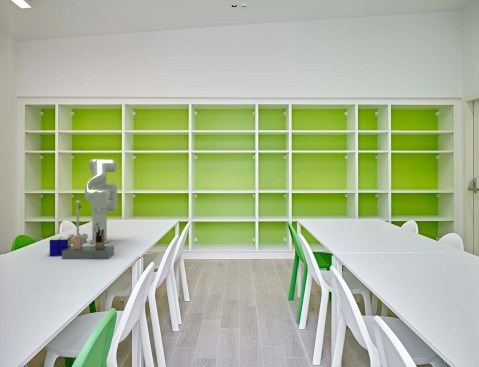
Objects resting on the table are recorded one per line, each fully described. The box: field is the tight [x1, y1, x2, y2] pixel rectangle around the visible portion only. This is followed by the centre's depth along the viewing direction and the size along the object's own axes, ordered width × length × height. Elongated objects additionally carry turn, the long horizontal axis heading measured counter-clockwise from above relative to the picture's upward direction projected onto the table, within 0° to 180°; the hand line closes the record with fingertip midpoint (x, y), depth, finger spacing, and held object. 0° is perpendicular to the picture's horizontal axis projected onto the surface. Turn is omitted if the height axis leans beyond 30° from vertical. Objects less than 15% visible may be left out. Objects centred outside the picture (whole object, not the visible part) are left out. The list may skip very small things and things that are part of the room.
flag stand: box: [67, 200, 89, 245], centre depth 249 cm, size 13×13×30 cm
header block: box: [61, 245, 115, 260], centre depth 210 cm, size 12×26×5 cm, turn 94°
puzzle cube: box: [49, 235, 72, 257], centre depth 215 cm, size 10×10×10 cm
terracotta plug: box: [72, 236, 83, 249], centre depth 210 cm, size 4×4×11 cm
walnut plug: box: [95, 231, 106, 249], centre depth 211 cm, size 4×4×11 cm
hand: (100, 241), depth 211 cm, fingers closed on walnut plug, 4 cm apart
